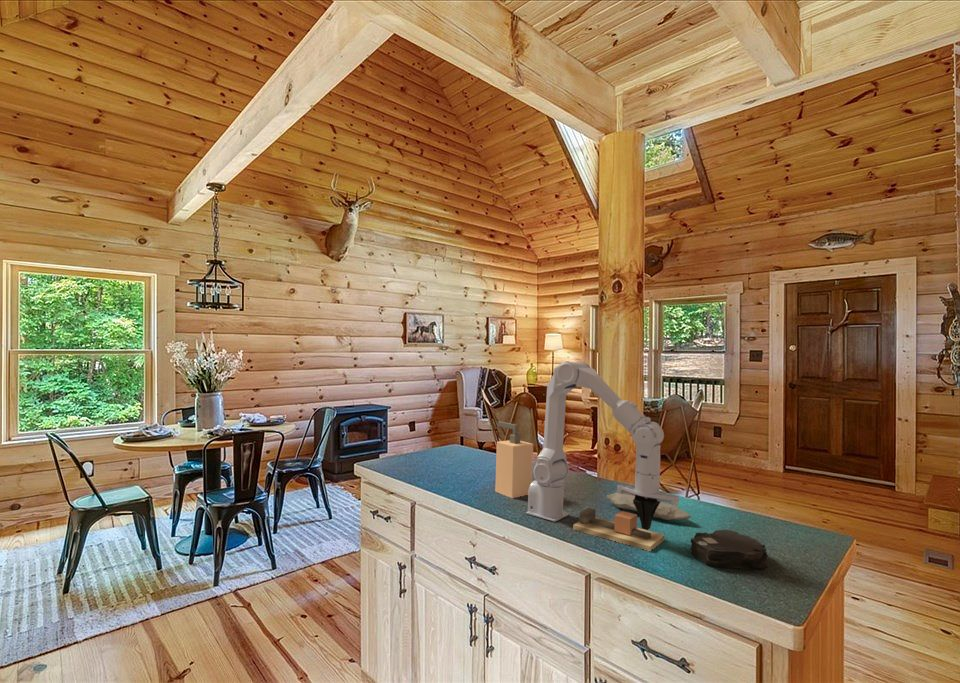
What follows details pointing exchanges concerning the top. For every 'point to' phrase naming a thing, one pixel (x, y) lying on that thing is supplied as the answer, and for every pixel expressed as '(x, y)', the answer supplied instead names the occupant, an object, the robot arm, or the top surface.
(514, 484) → the soap dispenser
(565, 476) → the robot arm
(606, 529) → the rail board
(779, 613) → the top surface
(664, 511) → the stone tool
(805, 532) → the top surface
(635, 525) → the slider block
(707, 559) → the rock sample
